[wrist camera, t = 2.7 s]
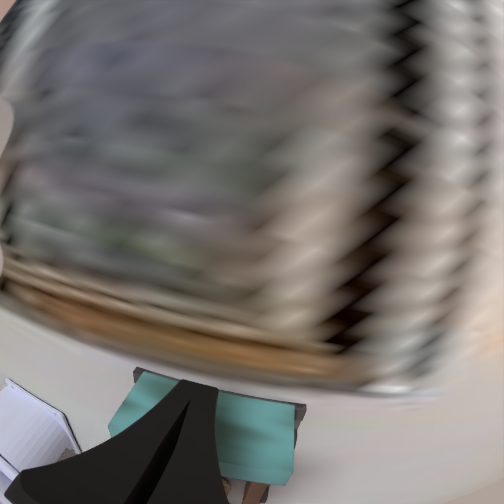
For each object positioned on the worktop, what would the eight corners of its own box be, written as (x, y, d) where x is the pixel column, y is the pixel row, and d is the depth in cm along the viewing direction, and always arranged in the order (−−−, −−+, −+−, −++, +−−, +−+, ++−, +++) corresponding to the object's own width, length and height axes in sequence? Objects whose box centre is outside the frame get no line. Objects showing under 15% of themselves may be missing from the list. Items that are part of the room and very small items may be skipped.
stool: (150, 464, 20) (131, 504, 15) (135, 368, 16) (97, 421, 11) (264, 491, 19) (258, 535, 15) (304, 406, 16) (305, 473, 11)
